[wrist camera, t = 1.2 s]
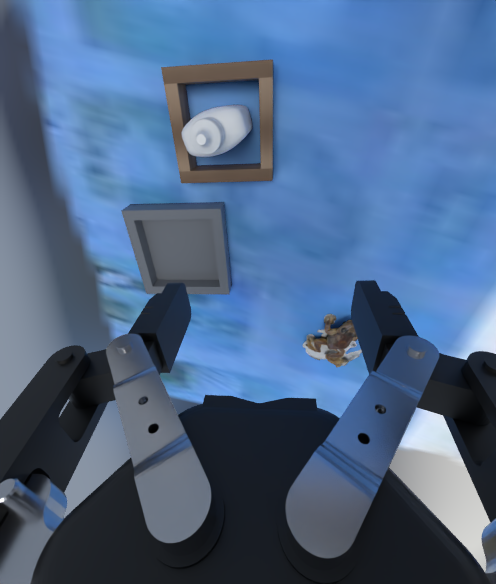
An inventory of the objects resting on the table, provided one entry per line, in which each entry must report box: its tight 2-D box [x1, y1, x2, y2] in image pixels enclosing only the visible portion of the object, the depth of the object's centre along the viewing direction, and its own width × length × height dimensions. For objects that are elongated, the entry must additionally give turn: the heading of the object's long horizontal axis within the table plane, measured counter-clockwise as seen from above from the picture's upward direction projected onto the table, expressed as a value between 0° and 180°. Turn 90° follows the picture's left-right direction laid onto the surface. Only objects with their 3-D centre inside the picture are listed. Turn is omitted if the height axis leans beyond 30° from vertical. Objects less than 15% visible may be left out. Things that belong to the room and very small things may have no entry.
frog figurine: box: [303, 314, 362, 367], centre depth 44 cm, size 11×12×4 cm
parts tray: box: [122, 202, 232, 294], centre depth 37 cm, size 12×12×2 cm
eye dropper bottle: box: [182, 105, 252, 157], centre depth 25 cm, size 4×6×12 cm
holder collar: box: [161, 60, 273, 183], centre depth 29 cm, size 10×10×3 cm
